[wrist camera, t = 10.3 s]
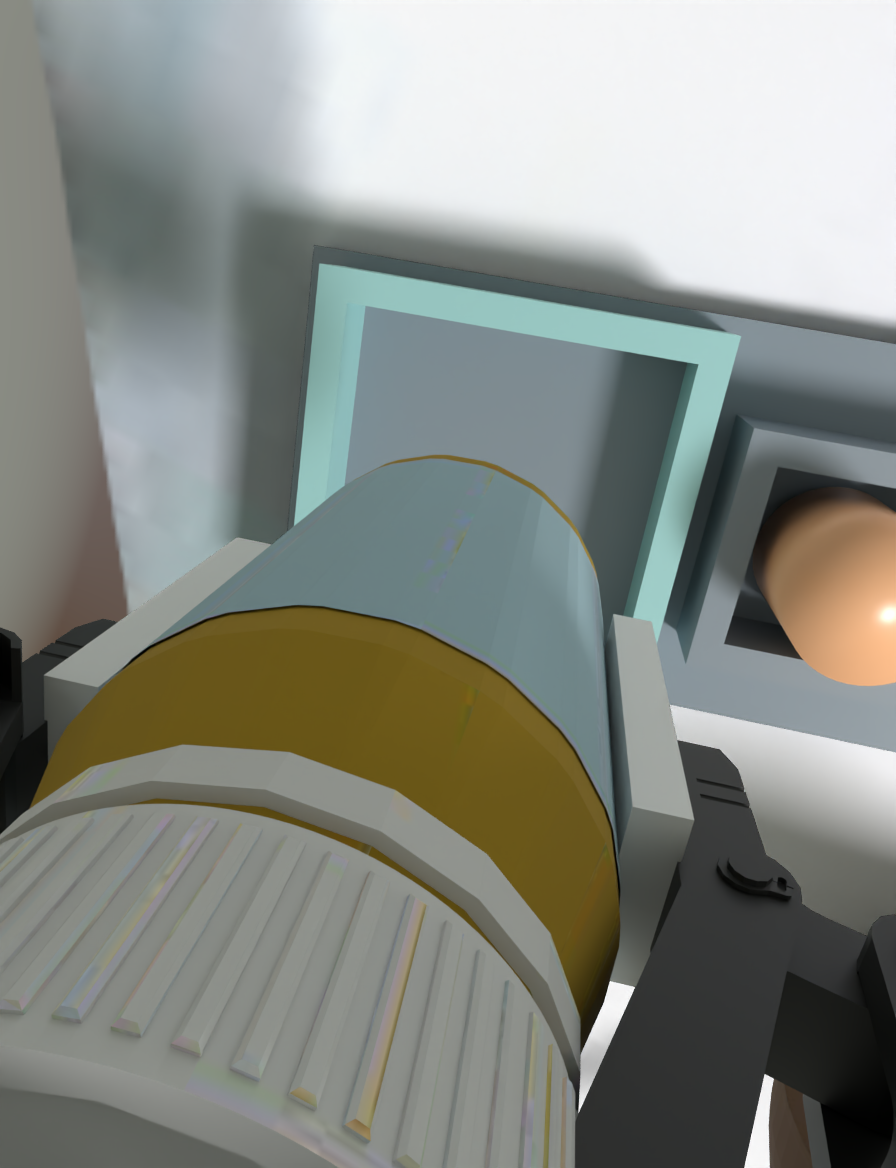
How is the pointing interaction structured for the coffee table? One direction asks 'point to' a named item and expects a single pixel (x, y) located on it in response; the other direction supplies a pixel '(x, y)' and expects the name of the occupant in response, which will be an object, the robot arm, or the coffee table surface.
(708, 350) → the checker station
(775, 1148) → the alarm clock
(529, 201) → the coffee table surface
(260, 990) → the bottle
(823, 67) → the coffee table surface
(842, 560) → the button
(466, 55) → the coffee table surface
